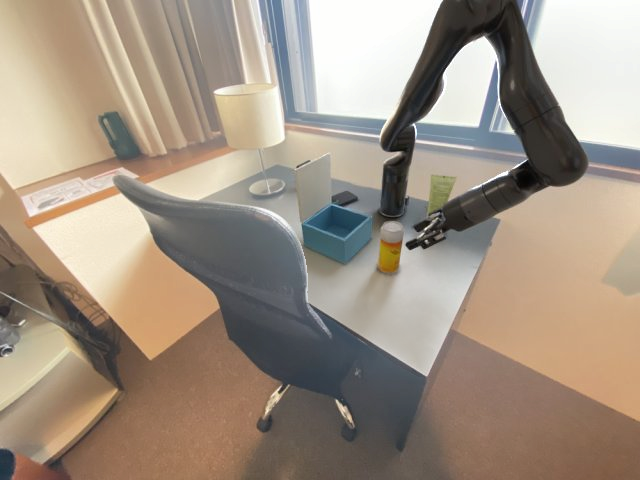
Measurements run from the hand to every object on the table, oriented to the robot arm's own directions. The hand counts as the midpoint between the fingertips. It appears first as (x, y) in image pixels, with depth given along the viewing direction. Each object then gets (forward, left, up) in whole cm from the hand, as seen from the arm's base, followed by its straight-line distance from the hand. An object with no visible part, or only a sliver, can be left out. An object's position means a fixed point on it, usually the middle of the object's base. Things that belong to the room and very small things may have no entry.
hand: (411, 237), depth 72 cm
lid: (-1, -33, +6) cm, 34 cm away
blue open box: (-1, -25, -13) cm, 28 cm away
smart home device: (-22, -42, -13) cm, 49 cm away
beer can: (+1, -5, -13) cm, 14 cm away
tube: (-27, -2, -13) cm, 30 cm away
